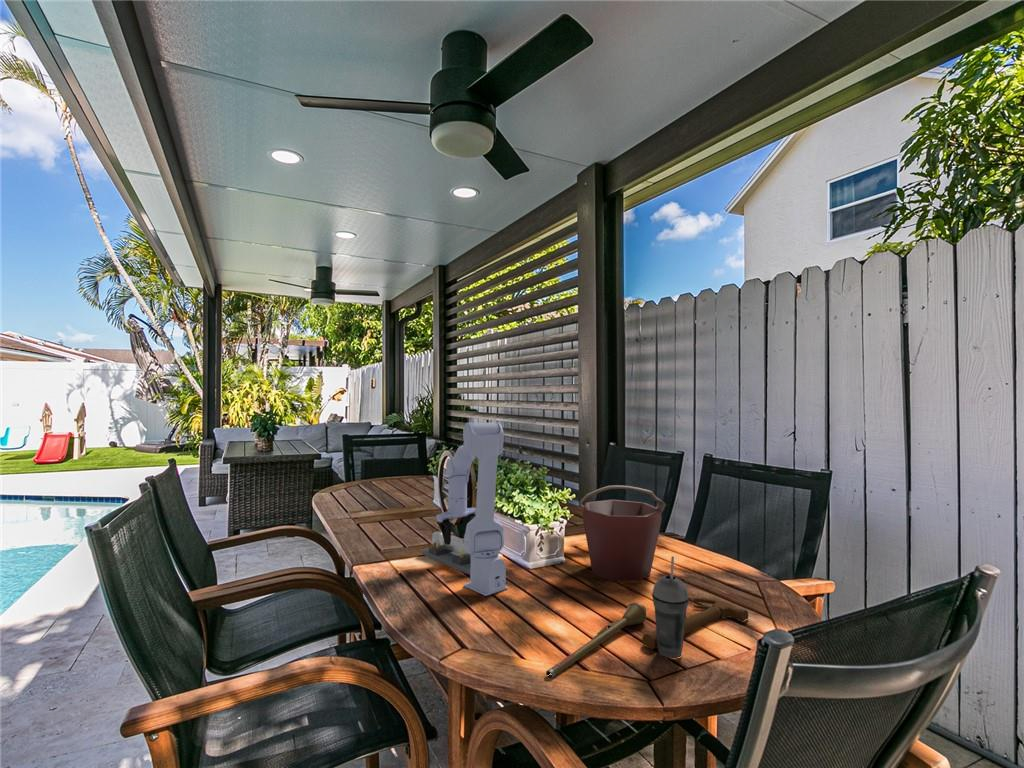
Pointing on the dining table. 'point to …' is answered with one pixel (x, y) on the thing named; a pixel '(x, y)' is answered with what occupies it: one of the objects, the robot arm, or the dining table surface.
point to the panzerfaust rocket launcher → (603, 636)
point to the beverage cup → (670, 613)
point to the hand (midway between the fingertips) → (457, 541)
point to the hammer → (702, 618)
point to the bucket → (621, 535)
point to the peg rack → (449, 558)
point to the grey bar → (455, 543)
